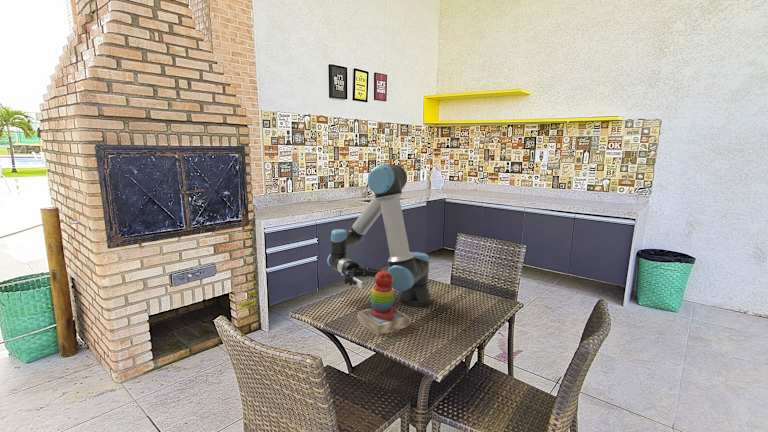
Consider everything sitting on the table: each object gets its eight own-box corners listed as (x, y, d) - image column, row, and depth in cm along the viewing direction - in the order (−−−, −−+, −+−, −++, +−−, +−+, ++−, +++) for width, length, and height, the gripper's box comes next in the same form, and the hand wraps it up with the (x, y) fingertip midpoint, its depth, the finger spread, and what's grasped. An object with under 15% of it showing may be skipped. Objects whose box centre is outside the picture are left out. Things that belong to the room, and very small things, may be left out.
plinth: (386, 312, 165) (387, 303, 165) (408, 326, 154) (409, 316, 153) (357, 320, 157) (357, 310, 156) (378, 335, 145) (378, 325, 144)
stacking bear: (392, 320, 148) (394, 277, 145) (367, 317, 150) (368, 274, 147) (397, 309, 158) (398, 268, 155) (373, 307, 160) (374, 266, 157)
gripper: (371, 272, 181) (398, 286, 164) (324, 280, 167) (349, 297, 150) (371, 256, 180) (399, 269, 162) (324, 264, 165) (349, 278, 148)
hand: (375, 282), depth 156 cm, fingers open, 12 cm apart
